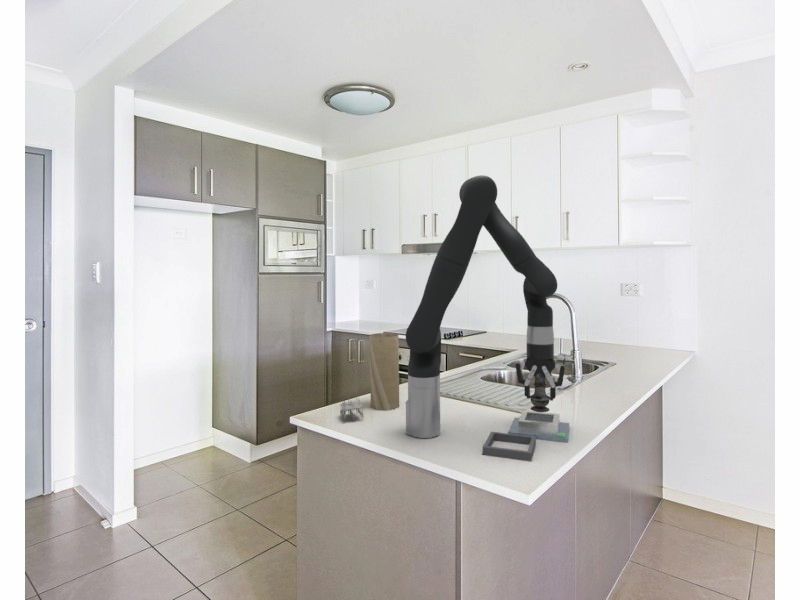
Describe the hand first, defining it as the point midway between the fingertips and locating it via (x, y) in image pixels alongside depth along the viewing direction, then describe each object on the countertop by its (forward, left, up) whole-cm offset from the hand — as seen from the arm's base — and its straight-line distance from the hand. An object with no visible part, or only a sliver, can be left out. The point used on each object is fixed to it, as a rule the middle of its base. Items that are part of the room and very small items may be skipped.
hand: (540, 398), depth 136 cm
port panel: (0, 0, -10) cm, 10 cm away
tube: (-53, +8, -10) cm, 54 cm away
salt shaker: (0, 0, -3) cm, 3 cm away
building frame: (-58, -8, -10) cm, 59 cm away
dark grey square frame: (-6, -17, -10) cm, 20 cm away
